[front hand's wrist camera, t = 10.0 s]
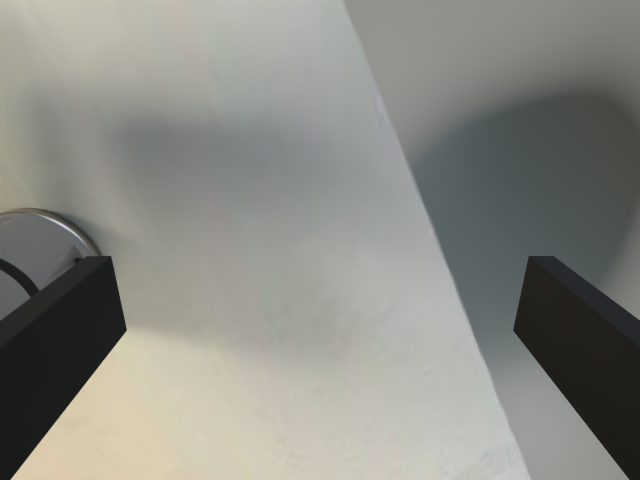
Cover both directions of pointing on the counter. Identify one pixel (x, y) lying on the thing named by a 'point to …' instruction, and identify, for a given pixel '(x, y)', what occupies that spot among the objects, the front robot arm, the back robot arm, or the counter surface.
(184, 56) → the counter surface
